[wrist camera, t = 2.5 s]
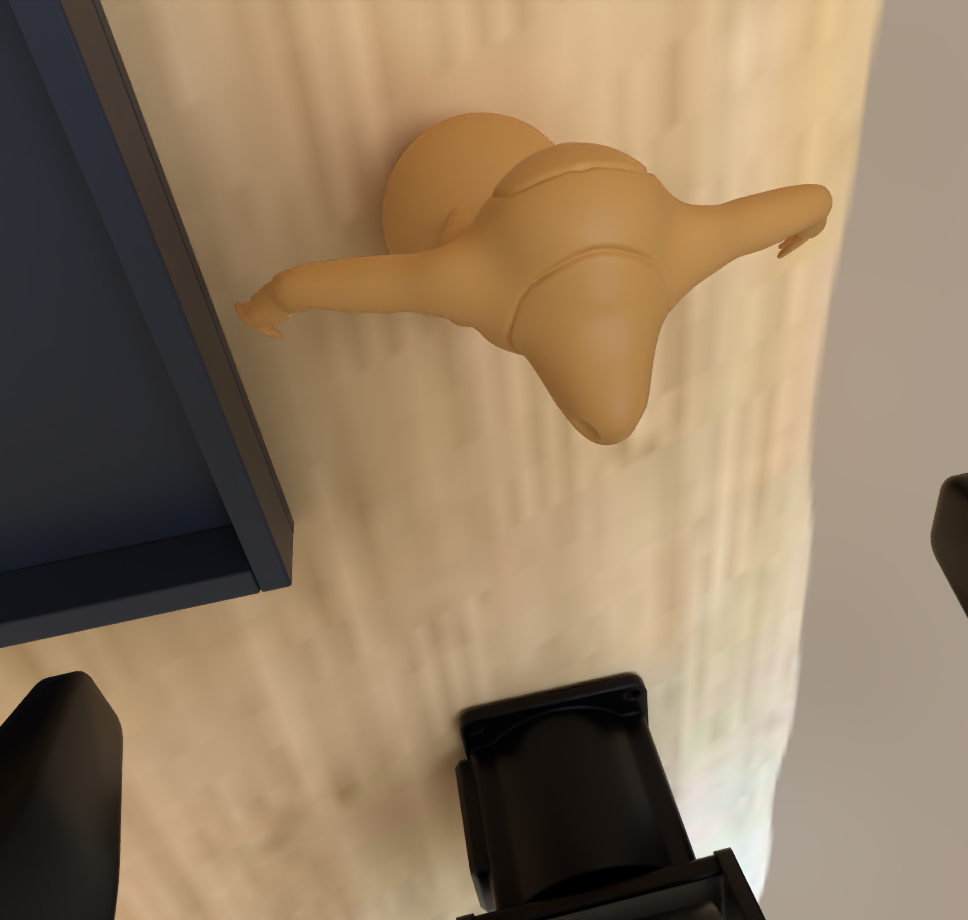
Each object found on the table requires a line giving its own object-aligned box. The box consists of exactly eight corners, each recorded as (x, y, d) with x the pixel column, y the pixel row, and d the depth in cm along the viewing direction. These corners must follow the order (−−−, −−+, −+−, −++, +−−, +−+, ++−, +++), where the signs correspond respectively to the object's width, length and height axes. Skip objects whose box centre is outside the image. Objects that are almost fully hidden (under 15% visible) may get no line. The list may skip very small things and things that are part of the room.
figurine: (300, 297, 20) (286, 738, 11) (226, 9, 16) (105, 285, 7) (652, 240, 21) (939, 612, 11) (656, -52, 17) (1091, 129, 7)
